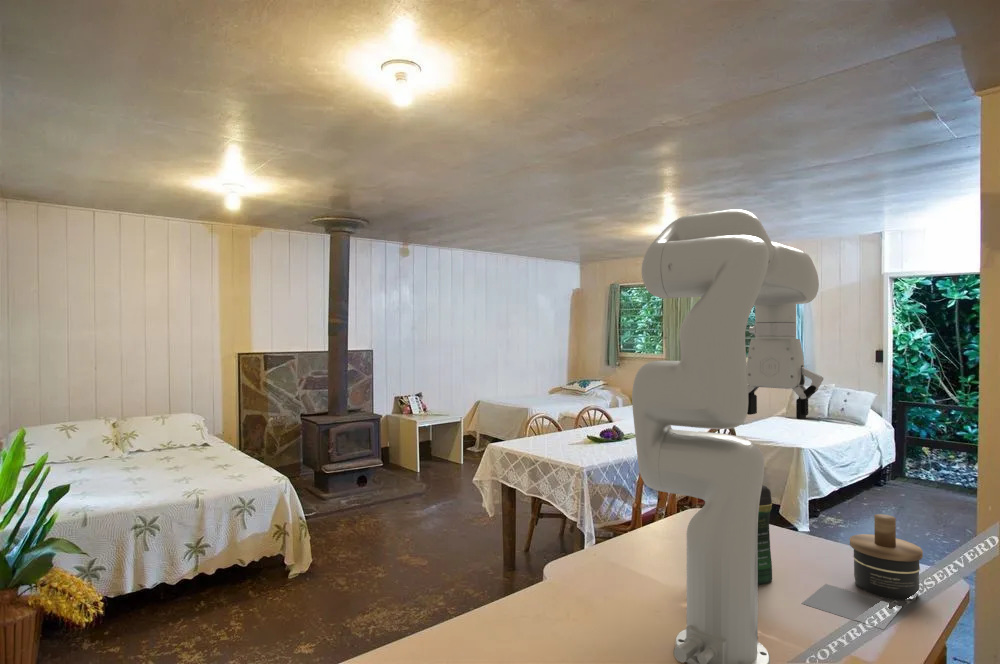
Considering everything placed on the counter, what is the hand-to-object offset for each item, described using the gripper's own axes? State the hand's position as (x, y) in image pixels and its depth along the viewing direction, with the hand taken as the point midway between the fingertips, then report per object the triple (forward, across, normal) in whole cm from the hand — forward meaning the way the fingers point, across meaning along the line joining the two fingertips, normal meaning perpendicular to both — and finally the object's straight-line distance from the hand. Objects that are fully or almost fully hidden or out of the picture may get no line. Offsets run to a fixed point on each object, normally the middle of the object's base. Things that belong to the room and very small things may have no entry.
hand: (775, 416), depth 115 cm
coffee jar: (+31, -2, -10) cm, 32 cm away
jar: (+31, +18, +3) cm, 36 cm away
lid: (+23, +18, +3) cm, 29 cm away
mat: (+30, +16, -9) cm, 35 cm away
